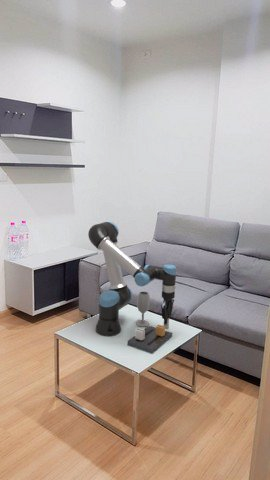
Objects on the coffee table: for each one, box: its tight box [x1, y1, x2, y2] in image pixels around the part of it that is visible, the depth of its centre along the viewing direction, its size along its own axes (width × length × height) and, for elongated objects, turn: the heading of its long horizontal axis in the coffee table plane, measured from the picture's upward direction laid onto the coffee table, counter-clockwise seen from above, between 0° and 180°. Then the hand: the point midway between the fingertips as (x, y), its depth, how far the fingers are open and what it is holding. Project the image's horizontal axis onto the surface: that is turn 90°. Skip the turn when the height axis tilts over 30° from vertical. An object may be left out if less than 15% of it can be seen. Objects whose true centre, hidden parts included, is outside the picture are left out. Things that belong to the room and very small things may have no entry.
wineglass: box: [135, 290, 151, 328], centre depth 227 cm, size 9×9×21 cm
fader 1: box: [134, 327, 145, 340], centre depth 204 cm, size 4×3×5 cm
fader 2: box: [155, 324, 166, 336], centre depth 210 cm, size 4×3×5 cm
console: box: [127, 325, 173, 354], centre depth 208 cm, size 16×24×2 cm, turn 148°
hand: (166, 328), depth 216 cm, fingers closed
